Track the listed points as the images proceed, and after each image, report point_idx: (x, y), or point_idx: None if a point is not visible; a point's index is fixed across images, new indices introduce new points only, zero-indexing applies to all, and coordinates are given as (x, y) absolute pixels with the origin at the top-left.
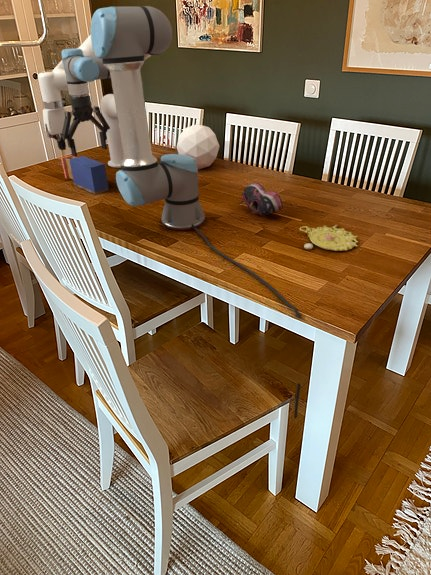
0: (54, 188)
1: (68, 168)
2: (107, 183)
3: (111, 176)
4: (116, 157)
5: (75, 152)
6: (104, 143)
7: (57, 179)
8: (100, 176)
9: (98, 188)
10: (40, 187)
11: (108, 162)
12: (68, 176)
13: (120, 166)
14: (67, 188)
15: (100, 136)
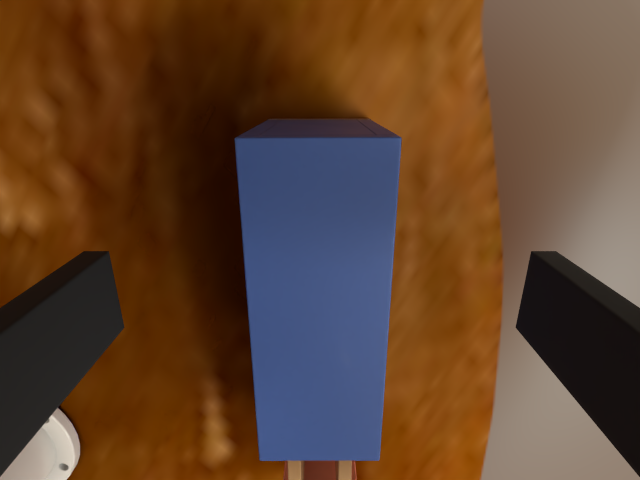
0: (454, 366)
1: None
2: (265, 122)
3: (141, 313)
4: None
5: (575, 273)
6: (61, 286)
7: None
8: (308, 127)
9: (341, 121)
10: (486, 421)
11: (66, 474)
12: None
13: None
14: (413, 322)
15: (16, 435)
